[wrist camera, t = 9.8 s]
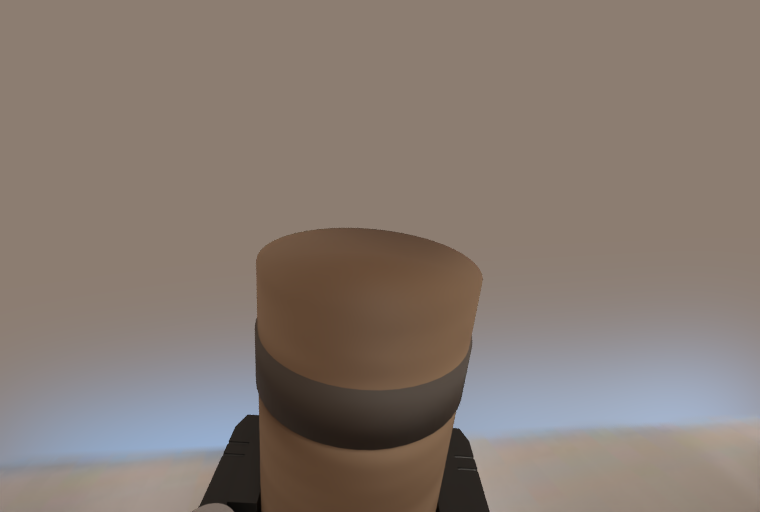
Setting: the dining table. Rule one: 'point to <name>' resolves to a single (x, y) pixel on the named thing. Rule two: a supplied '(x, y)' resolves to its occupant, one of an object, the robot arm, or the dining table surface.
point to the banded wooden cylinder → (359, 368)
